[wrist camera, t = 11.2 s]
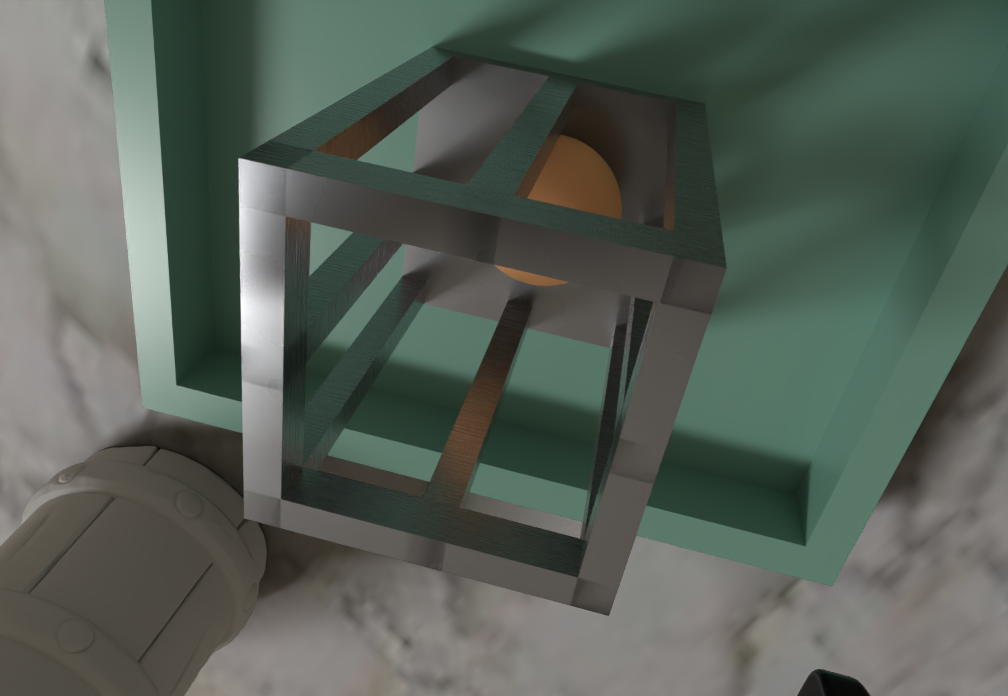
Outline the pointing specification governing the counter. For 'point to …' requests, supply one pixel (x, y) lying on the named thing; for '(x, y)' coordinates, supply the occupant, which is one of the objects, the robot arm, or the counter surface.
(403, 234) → the cage
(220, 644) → the mug
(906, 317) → the tray
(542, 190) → the ball
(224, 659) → the counter surface
